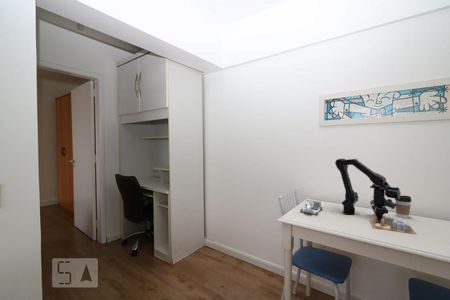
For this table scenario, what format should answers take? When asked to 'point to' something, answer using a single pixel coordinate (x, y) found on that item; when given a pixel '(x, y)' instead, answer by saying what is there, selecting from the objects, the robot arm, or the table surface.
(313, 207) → the phone holder
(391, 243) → the table surface
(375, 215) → the gear
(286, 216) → the table surface
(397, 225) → the gear
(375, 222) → the gear board
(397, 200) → the coffee cup
